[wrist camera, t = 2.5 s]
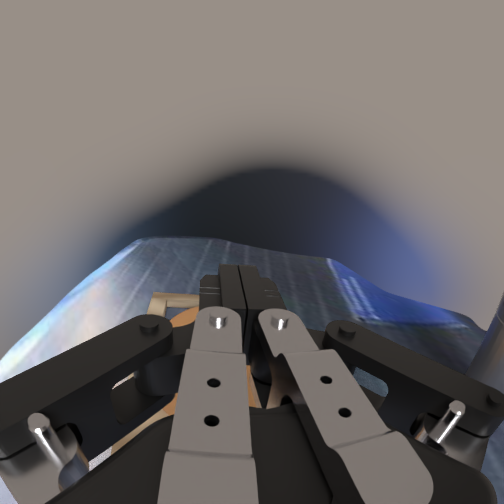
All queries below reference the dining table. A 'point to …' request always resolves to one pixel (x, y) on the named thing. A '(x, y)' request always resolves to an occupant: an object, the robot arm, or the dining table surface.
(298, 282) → the dining table surface
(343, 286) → the dining table surface
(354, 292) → the dining table surface
